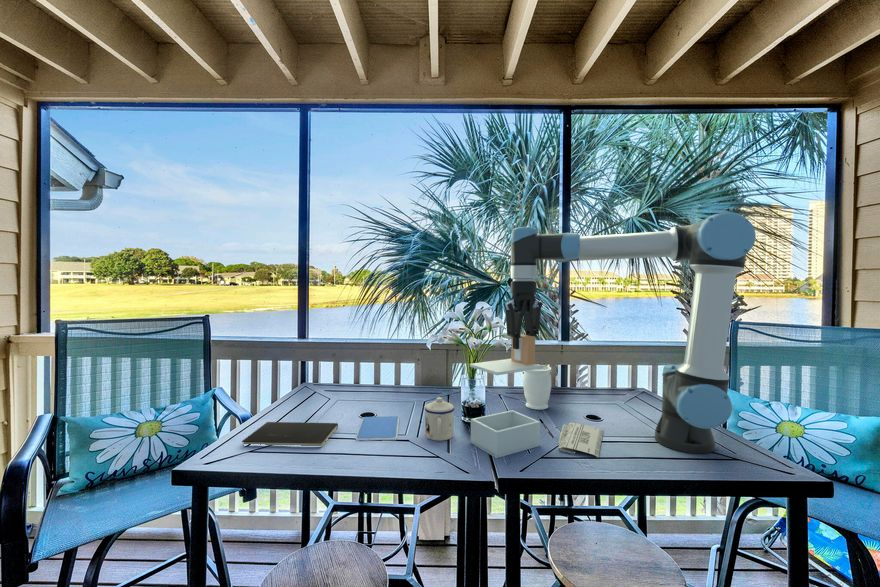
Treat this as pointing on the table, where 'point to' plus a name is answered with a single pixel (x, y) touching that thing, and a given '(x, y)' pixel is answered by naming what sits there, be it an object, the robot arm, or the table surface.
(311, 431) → the hardcover book
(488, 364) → the lid
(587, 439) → the newspaper
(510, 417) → the parts tub
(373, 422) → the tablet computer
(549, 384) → the jar
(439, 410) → the teacup with lid
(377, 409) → the table surface
